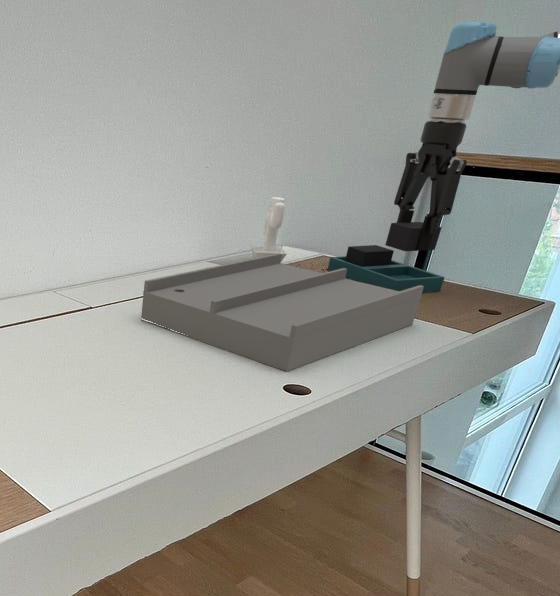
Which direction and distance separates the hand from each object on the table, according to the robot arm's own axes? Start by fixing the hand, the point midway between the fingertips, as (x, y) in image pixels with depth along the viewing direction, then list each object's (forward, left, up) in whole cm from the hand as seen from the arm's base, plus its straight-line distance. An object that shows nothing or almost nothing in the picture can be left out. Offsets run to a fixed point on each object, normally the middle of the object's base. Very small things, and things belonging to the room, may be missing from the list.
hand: (410, 246), depth 144 cm
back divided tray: (+5, 0, -8) cm, 10 cm away
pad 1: (+11, 0, -7) cm, 13 cm away
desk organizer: (-16, +42, -9) cm, 46 cm away
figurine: (+24, +19, -9) cm, 31 cm away
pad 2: (0, 0, 0) cm, 0 cm away
